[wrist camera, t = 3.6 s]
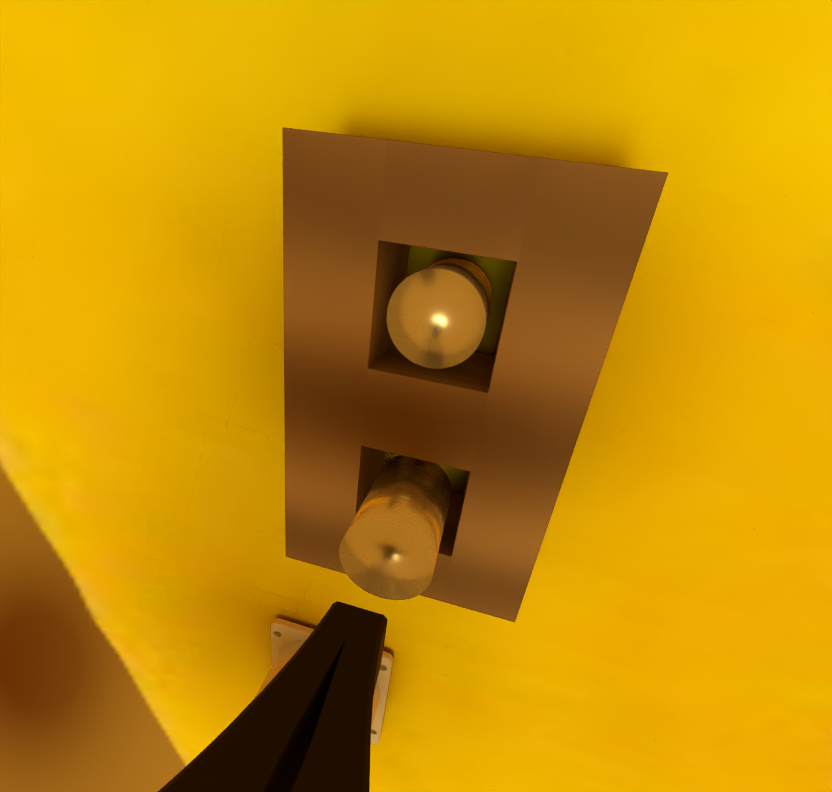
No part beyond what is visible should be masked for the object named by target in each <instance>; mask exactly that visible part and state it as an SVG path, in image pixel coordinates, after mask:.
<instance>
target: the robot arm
mask: <svg viewBox="0 0 832 792" xmlns="http://www.w3.org/2000/svg"><path fill="white" fill-rule="evenodd" d="M386 626H387V619H386V617H385V616H384V615H382V614H378V613H375V612H371V611H368V610H365V609H361V608H358V607H355V606H351V605H348V604H345V603H341V602H335V603H333V604H332V606H331V607H330V609H329V610H328V612H327V613H326V615H325V616H324V617H323V619H322V620H321V621H320V623H319V624H318V625H317V627H316V628H315V629H312V628H309V627H306V626H303V625H299V624H296V623H293V622H290V621H287V620H283V619H280V618H277V619H274V620H273V622H272V623H271V655H272V668H271V670H270V671H269V673H268V675H267V677H266V679H265V681H264V682H263V684H262V686H261V688H260V690H259V691H258V693H257V695H256V697H255V699H254V700H253V701H252V702H251V703H250V704H249V705H248V706H247V707H246V708H245V709H244V710H243V711H242V712H241V713H240V714H239V716H238V717H237V718H236V719H235V720H234V721H233V722H232V723H231V724H230V725H229V726H228V727H227V728H226V729H225V730H224V731H223V732H222V733H221V734H220V735H219V736H218V737H217V738H216V739H215V740H214V741H213V742H212V743H211V744H209V745H208V746H207V747H206V748H205V749H204V750H203V751H202V752H201V753H200V754H199V755H198V756H197V757H196V758H195V759H194V760H193V761H191V762H190V763H189V764H188V765H187V766H186V767H185V768H184V769H183V770H182V771H181V772H180V773H178V774H177V775H176V776H175V777H174V778H173V779H172V780H171V781H169V782H168V783H167V784H166V785H165V786H164V787H163V788H162V789H160V791H158V792H369V776H370V743H371V744H377V743H379V740H380V736H381V730H382V724H383V718H384V712H385V706H386V700H387V694H388V688H389V682H390V676H391V670H392V664H393V657H392V655H391V654H390V653H388V652H386V651H383V647H384V640H385V633H386Z"/></svg>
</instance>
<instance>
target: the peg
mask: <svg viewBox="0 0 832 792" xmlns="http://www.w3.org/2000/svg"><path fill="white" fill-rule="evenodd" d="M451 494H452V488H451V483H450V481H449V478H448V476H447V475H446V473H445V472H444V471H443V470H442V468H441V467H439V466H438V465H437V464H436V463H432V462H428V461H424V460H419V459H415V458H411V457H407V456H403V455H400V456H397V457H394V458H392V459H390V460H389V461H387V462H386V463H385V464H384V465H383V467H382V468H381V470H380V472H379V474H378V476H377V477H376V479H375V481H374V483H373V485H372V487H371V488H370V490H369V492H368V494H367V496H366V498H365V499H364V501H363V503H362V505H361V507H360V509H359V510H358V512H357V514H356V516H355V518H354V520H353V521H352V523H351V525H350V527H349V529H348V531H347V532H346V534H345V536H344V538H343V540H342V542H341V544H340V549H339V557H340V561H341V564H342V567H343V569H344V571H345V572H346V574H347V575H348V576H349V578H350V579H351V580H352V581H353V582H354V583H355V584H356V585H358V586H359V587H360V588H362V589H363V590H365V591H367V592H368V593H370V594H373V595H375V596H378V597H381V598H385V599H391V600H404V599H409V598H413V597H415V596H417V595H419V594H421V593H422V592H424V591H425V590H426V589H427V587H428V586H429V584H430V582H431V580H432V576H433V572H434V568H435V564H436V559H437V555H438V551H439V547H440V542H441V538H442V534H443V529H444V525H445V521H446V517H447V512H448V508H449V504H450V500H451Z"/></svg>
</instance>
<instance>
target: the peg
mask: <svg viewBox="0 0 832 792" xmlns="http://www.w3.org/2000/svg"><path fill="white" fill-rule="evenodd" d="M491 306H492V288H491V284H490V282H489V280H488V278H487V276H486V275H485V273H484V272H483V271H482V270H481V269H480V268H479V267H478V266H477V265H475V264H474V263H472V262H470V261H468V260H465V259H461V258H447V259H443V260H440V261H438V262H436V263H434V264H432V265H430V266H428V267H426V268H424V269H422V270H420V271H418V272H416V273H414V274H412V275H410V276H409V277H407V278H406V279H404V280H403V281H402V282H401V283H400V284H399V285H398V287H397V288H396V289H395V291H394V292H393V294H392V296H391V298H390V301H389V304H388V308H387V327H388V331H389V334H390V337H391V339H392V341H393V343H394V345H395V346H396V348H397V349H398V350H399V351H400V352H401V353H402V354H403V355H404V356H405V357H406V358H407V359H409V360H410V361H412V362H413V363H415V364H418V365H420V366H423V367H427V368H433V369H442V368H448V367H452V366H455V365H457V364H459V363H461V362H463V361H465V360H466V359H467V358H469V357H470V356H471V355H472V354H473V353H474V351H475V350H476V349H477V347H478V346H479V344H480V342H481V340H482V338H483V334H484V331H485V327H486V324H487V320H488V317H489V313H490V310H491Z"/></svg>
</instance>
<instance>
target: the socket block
mask: <svg viewBox="0 0 832 792" xmlns="http://www.w3.org/2000/svg"><path fill="white" fill-rule="evenodd" d="M667 175H668V173H667V172H658V171H650V170H641V169H633V168H624V167H616V166H607V165H598V164H590V163H581V162H573V161H564V160H556V159H547V158H539V157H530V156H522V155H513V154H505V153H496V152H488V151H479V150H471V149H462V148H454V147H445V146H437V145H428V144H420V143H411V142H402V141H394V140H385V139H377V138H368V137H360V136H351V135H343V134H334V133H326V132H317V131H309V130H300V129H292V128H283V255H284V391H285V527H286V557H289V558H293V559H296V560H300V561H303V562H307V563H310V564H314V565H317V566H321V567H324V568H328V569H331V570H335V571H338V572H342V573H345V574H346V572H345V571H344V569H343V567H342V564H341V561H340V557H339V549H340V544H341V542H342V540H343V538H344V536H345V534H346V532H347V531H348V529H349V527H350V525H351V523H352V521H353V520H354V518H355V516H356V514H357V512H358V510H359V509H360V507H361V505H362V503H363V501H364V499H365V498H366V496H367V494H368V492H369V490H370V488H371V487H372V485H373V483H374V481H375V479H376V477H377V476H378V474H379V472H380V470H381V468H382V467H383V465H384V463H385V454H386V452H390V453H394V454H398V455H403V456H407V457H411V458H415V459H419V460H424V461H428V462H432V463H436V464H441V465H445V466H449V467H453V468H458V469H462V470H466V471H469V472H468V477H467V481H466V486H465V490H464V495H463V494H459V493H455V492H452V494H451V500H450V504H449V508H448V512H447V517H446V521H445V525H444V529H443V534H442V538H441V542H440V547H439V551H438V555H437V559H436V564H435V568H434V572H433V576H432V580H431V582H430V584H429V586H428V587H427V589H426V590H425V591H424V592H422V593H421V594H419V595H422V596H425V597H429V598H432V599H436V600H439V601H442V602H446V603H449V604H453V605H456V606H460V607H463V608H467V609H470V610H474V611H477V612H481V613H484V614H488V615H491V616H495V617H498V618H502V619H505V620H509V621H512V622H515V620H516V617H517V614H518V611H519V608H520V605H521V602H522V599H523V597H524V594H525V591H526V588H527V585H528V582H529V579H530V576H531V573H532V570H533V567H534V564H535V561H536V558H537V556H538V553H539V550H540V547H541V544H542V541H543V538H544V535H545V532H546V529H547V526H548V523H549V520H550V517H551V515H552V512H553V509H554V506H555V503H556V500H557V497H558V494H559V491H560V488H561V485H562V482H563V479H564V476H565V474H566V471H567V468H568V465H569V462H570V459H571V456H572V453H573V450H574V447H575V444H576V441H577V438H578V435H579V433H580V430H581V427H582V424H583V421H584V418H585V415H586V412H587V409H588V406H589V403H590V400H591V397H592V394H593V392H594V389H595V386H596V383H597V380H598V377H599V374H600V371H601V368H602V365H603V362H604V359H605V356H606V353H607V351H608V348H609V345H610V342H611V339H612V336H613V333H614V330H615V327H616V324H617V321H618V318H619V315H620V312H621V310H622V307H623V304H624V301H625V298H626V295H627V292H628V289H629V286H630V283H631V280H632V277H633V274H634V271H635V269H636V266H637V263H638V260H639V257H640V254H641V251H642V248H643V245H644V242H645V239H646V236H647V233H648V230H649V228H650V225H651V222H652V219H653V216H654V213H655V210H656V207H657V204H658V201H659V198H660V195H661V192H662V189H663V187H664V184H665V181H666V178H667ZM409 245H413V246H419V247H426V248H432V249H439V250H445V251H451V252H458V253H464V254H471V255H477V256H483V257H490V258H496V259H503V260H509V261H515V263H514V268H513V272H512V277H511V282H510V286H509V291H508V295H507V300H506V304H505V309H504V313H503V318H502V322H501V327H500V331H499V336H498V341H497V345H496V350H495V354H494V356H492V355H487V354H481V353H476V352H474V353H473V354H472V355H471V356H470V357H469V358H467V359H466V360H465V361H463V362H461V363H459V364H457V365H455V366H452V367H448V368H442V369H433V368H427V367H423V366H420V365H418V364H415V363H413V362H412V361H410V360H409V359H407V358H406V357H405V356H404V355H403V354H402V353H401V352H400V351H399V350H398V349H397V348H396V346H395V345H394V343H393V341H392V339H391V337H390V334H389V331H388V327H387V308H388V304H389V301H390V298H391V296H392V294H393V292H394V291H395V289H396V288H397V287H398V285H399V284H400V283H401V282H402V281H403V280H404V279H406V271H407V263H408V254H409Z"/></svg>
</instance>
